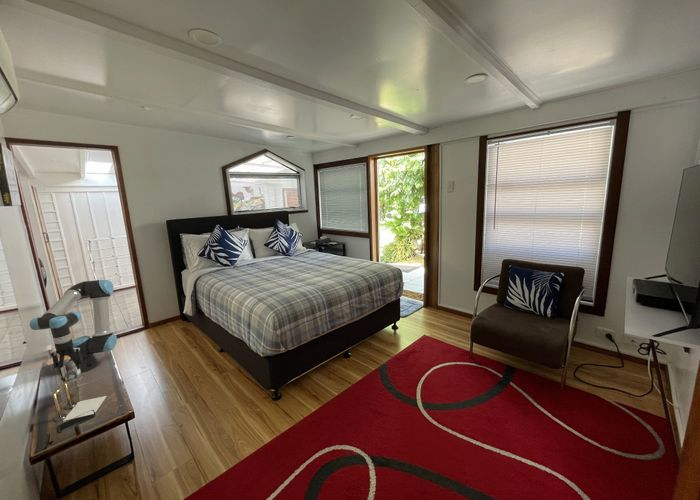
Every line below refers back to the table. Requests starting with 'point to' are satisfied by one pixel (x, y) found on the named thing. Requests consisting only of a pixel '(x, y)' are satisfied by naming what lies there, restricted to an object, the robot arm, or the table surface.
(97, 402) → the mat
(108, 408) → the table surface
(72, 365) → the camera
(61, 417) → the wire frame
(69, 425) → the phone
